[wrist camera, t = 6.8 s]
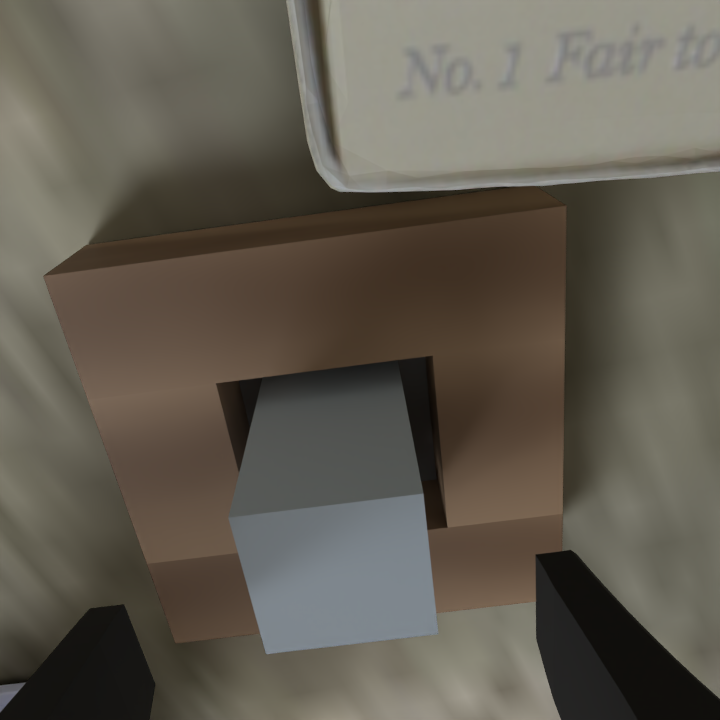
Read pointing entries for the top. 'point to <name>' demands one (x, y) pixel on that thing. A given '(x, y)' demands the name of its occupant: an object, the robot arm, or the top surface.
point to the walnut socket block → (326, 351)
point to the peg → (333, 512)
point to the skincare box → (506, 91)
